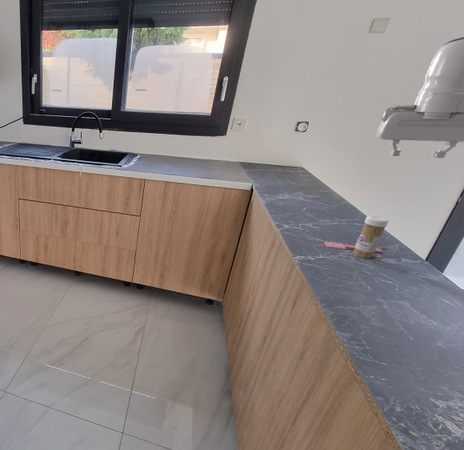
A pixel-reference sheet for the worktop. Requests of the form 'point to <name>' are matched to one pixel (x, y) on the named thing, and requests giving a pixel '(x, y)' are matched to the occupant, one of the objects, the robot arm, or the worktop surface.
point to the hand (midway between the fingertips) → (415, 156)
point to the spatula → (345, 246)
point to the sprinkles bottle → (370, 236)
